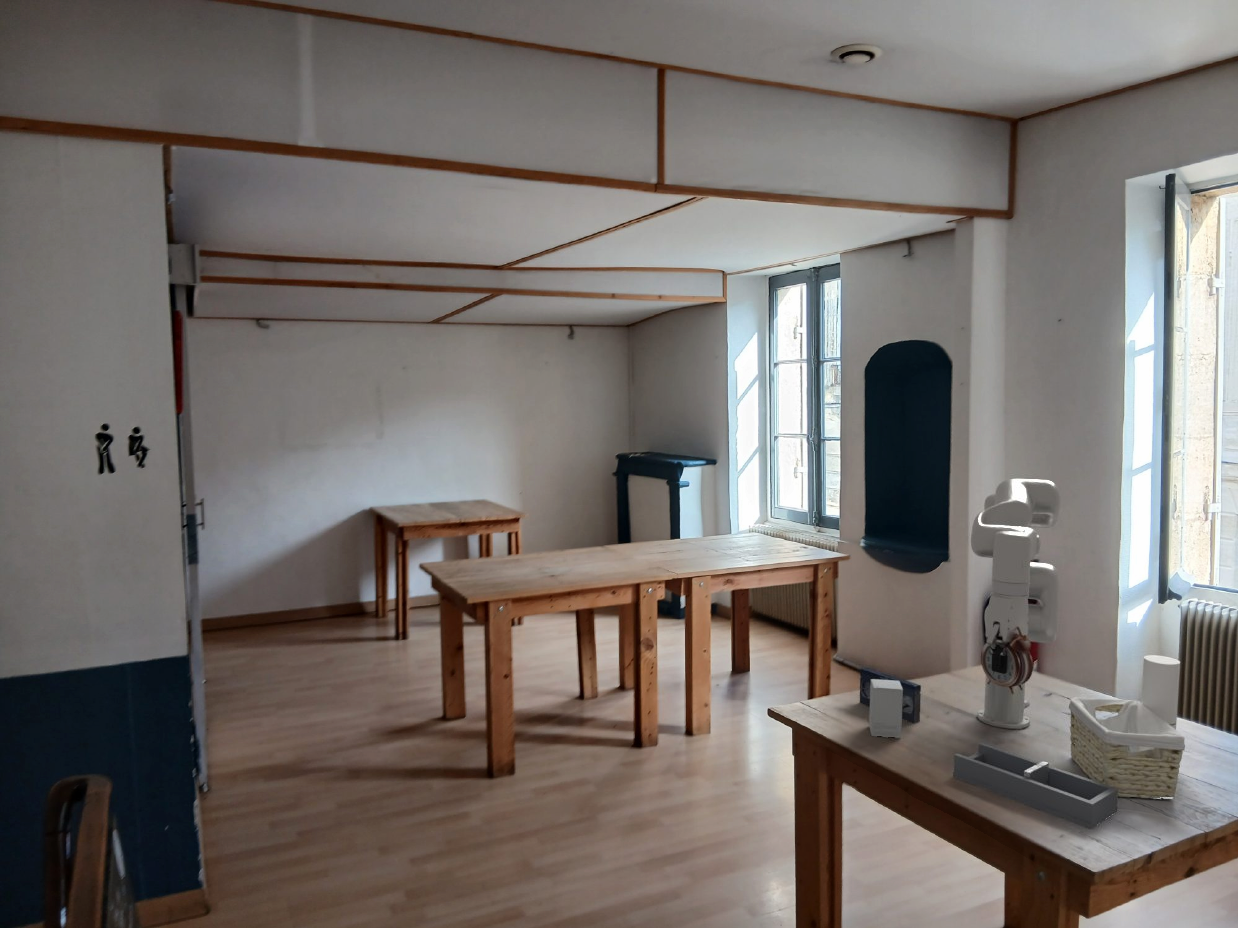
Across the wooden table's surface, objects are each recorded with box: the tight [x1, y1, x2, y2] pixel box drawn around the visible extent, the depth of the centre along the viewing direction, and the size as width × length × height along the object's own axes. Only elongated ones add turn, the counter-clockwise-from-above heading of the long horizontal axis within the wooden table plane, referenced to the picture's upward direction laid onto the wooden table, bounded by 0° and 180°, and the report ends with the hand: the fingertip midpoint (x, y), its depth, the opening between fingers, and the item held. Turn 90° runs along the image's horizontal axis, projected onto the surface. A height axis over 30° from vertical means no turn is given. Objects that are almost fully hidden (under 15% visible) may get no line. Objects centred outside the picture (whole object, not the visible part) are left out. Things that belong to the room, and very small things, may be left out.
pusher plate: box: [1024, 761, 1050, 785], centre depth 190 cm, size 8×1×5 cm, turn 128°
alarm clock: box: [980, 627, 1034, 694], centre depth 193 cm, size 11×5×15 cm, turn 25°
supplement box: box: [868, 679, 903, 739], centre depth 224 cm, size 7×7×13 cm
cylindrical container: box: [1140, 654, 1181, 730], centre depth 205 cm, size 7×7×25 cm
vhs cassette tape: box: [859, 667, 922, 724], centre depth 238 cm, size 18×3×10 cm, turn 33°
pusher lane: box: [952, 742, 1119, 830], centre depth 190 cm, size 12×30×5 cm, turn 38°
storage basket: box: [1068, 696, 1186, 799], centre depth 198 cm, size 24×16×15 cm
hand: (1006, 668), depth 194 cm, fingers closed on alarm clock, 5 cm apart
